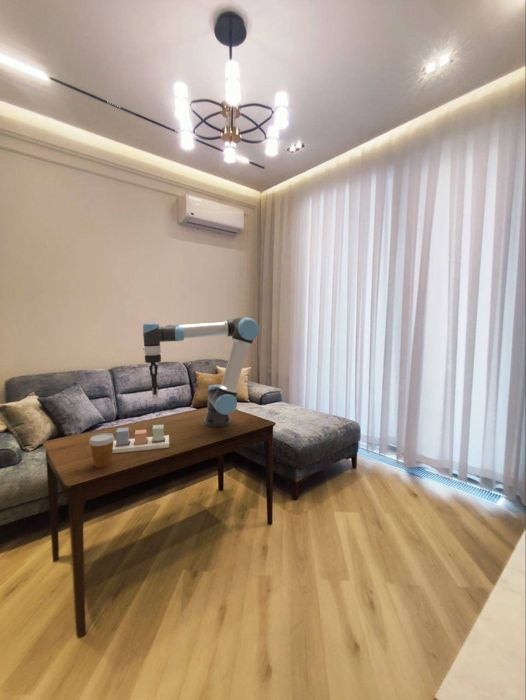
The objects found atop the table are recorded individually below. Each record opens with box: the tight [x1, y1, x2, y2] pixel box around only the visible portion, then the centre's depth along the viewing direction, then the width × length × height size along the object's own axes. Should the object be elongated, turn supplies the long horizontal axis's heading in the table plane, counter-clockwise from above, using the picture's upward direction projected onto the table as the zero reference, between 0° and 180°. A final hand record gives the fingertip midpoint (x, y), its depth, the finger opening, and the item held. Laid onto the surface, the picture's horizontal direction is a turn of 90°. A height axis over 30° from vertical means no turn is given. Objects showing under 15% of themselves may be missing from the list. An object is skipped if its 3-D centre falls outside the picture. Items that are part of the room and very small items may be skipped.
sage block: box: [152, 424, 165, 441], centre depth 149 cm, size 5×5×6 cm
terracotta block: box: [134, 429, 148, 445], centre depth 146 cm, size 5×5×6 cm
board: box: [112, 434, 170, 455], centre depth 147 cm, size 26×11×2 cm, turn 108°
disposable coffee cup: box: [88, 432, 116, 469], centre depth 128 cm, size 10×10×12 cm
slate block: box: [115, 427, 130, 445], centre depth 144 cm, size 5×5×6 cm
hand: (155, 400), depth 153 cm, fingers closed
